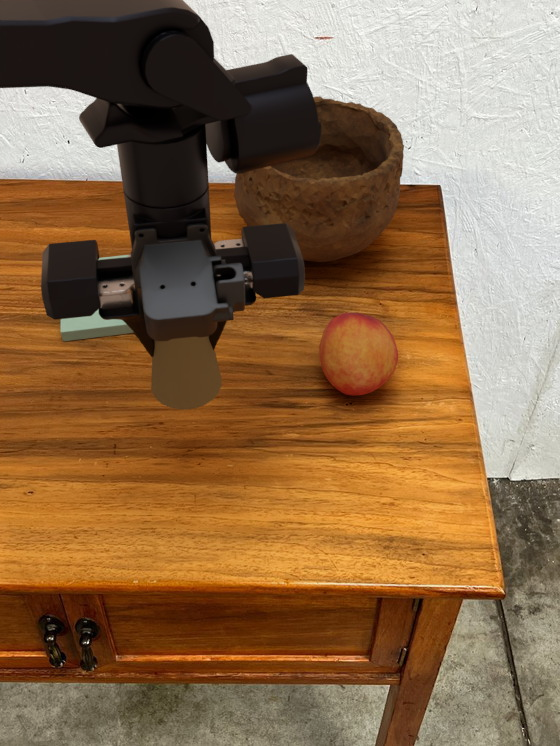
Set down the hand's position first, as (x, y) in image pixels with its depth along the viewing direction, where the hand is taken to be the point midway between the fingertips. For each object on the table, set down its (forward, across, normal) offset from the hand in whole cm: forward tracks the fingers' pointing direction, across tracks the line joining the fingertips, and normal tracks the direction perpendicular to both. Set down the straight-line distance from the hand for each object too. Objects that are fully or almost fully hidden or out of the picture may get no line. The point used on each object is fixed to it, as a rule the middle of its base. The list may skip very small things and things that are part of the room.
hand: (182, 350), depth 63 cm
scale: (+13, -6, +23) cm, 27 cm away
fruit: (+13, +17, +6) cm, 22 cm away
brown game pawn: (+4, 0, 0) cm, 4 cm away
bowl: (+13, +18, +29) cm, 36 cm away
